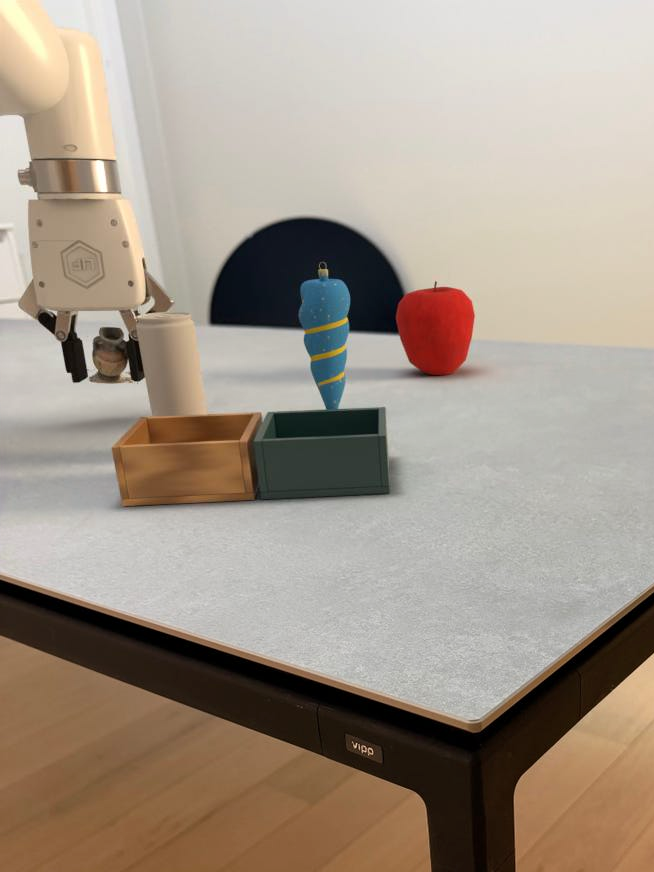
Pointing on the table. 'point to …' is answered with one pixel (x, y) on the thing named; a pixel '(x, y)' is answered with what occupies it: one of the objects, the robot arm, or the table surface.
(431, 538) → the table surface
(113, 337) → the vase
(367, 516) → the table surface
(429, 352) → the apple
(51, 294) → the robot arm
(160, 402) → the beverage can
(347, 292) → the ornament
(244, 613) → the table surface
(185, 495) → the bin
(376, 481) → the can bin
